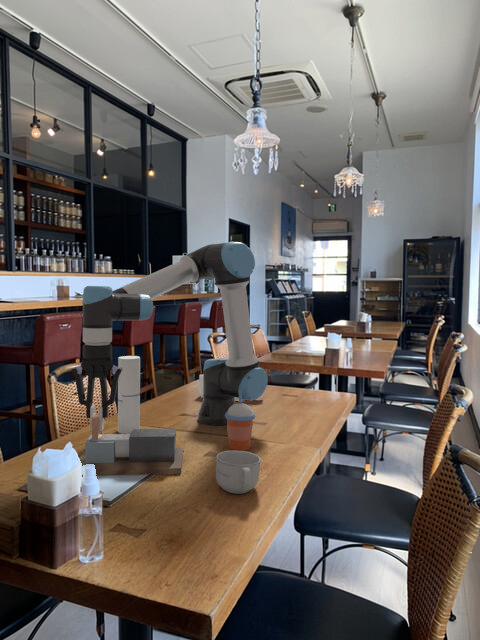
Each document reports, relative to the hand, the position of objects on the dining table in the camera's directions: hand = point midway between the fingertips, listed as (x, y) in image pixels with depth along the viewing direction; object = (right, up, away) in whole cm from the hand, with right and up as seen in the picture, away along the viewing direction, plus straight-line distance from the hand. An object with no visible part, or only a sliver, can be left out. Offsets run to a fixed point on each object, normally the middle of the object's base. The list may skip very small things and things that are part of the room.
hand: (97, 429), depth 125 cm
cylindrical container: (+1, -8, +31) cm, 32 cm away
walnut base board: (+9, -10, +1) cm, 13 cm away
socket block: (+1, -8, +1) cm, 8 cm away
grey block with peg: (+5, -7, +1) cm, 9 cm away
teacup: (+38, -11, -15) cm, 43 cm away
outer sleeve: (+15, -8, +2) cm, 17 cm away
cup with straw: (+39, -10, +16) cm, 43 cm away
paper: (+35, -6, +82) cm, 89 cm away
